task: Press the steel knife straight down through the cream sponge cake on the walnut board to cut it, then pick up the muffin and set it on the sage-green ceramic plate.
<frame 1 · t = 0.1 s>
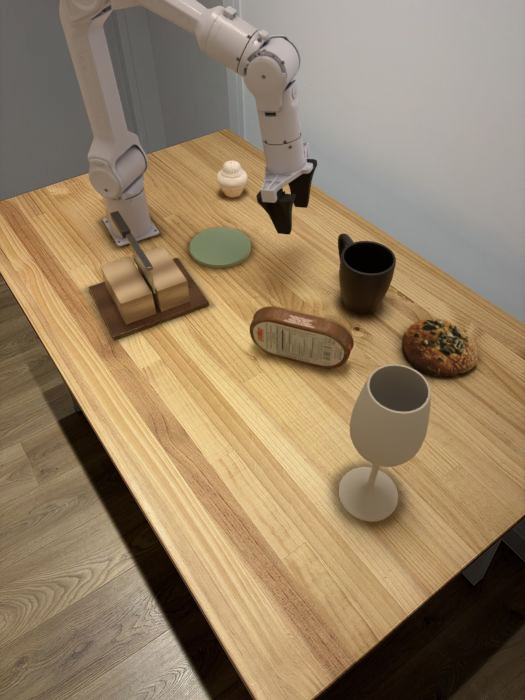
hand: (293, 219, 87), 11 cm above the table, tool pointing down, fingers open, 7 cm apart
mug: (354, 297, 91), on the table
bread roll: (438, 351, 83), on the table
plate: (220, 248, 99), on the table
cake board: (148, 297, 91), on the table
wineglass: (367, 494, 67), on the table
knife: (133, 250, 87), point 8 cm above the table, slide at 0.0 cm
muffin: (232, 194, 112), on the table
tin: (298, 358, 82), on the table
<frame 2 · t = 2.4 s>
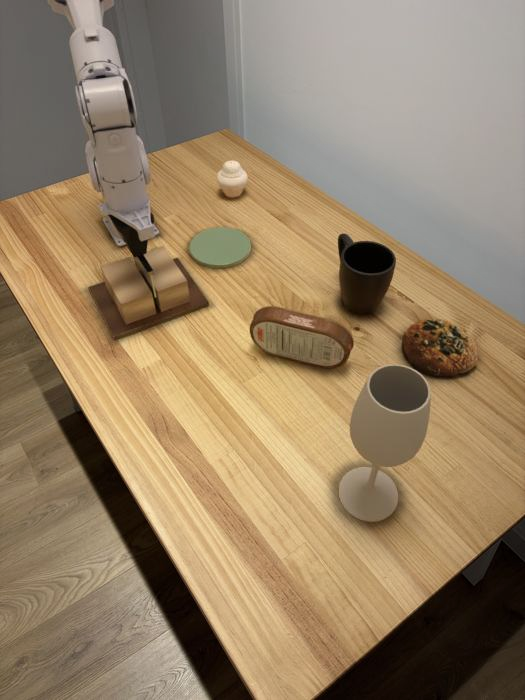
hand: (138, 253, 84), 9 cm above the table, tool pointing down, fingers closed, pressing on knife
knife: (134, 254, 88), point 7 cm above the table, slide at 0.8 cm, touching gripper
everything else where it was.
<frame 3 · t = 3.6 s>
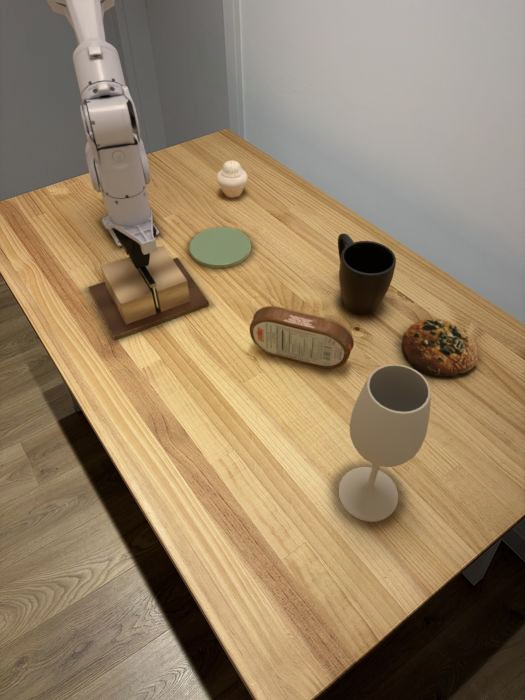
hand: (141, 264, 86), 7 cm above the table, tool pointing down, fingers closed
knife: (137, 266, 90), point 4 cm above the table, slide at 3.2 cm
everything else where it was.
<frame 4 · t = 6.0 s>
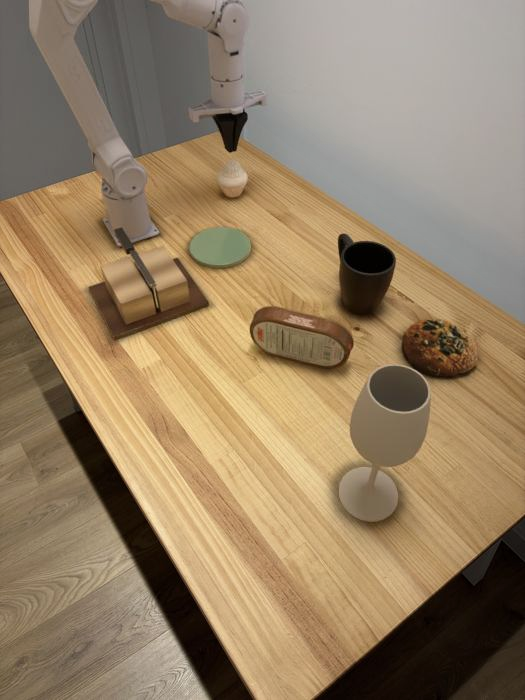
hand: (230, 149, 104), 9 cm above the table, tool pointing down, fingers closed
nothing on the table moved.
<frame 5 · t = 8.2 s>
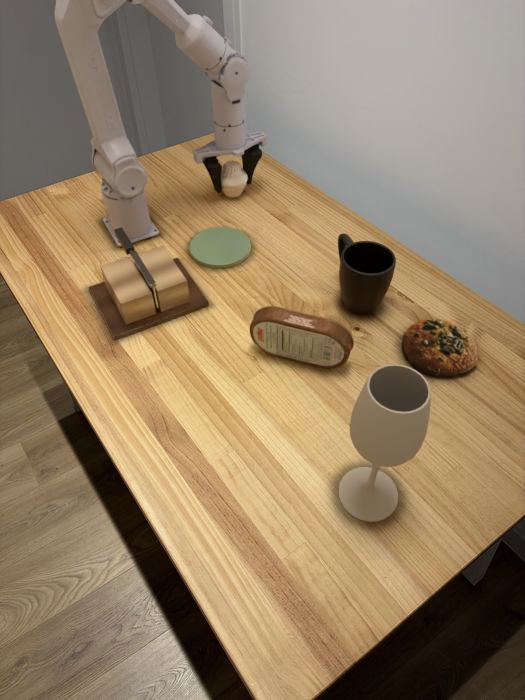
hand: (232, 186, 110), 2 cm above the table, tool pointing down, fingers closed on muffin, 6 cm apart
muffin: (233, 194, 112), on the table, touching gripper
everything else where it was.
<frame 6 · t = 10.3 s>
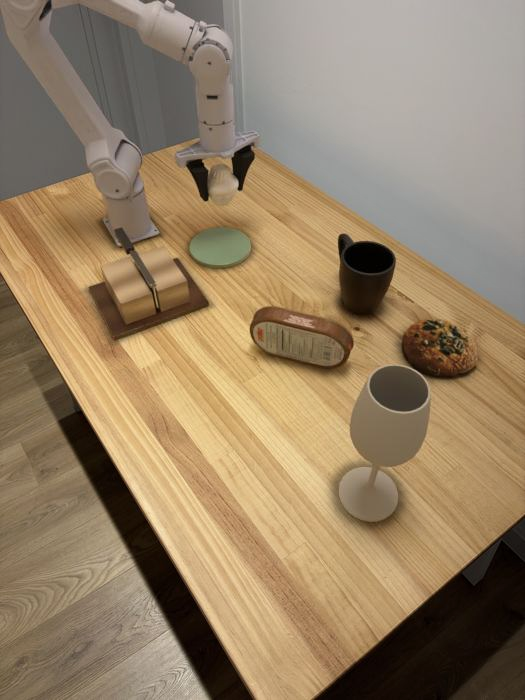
hand: (221, 193, 96), 8 cm above the table, tool pointing down, fingers closed on muffin, 6 cm apart
muffin: (222, 202, 98), point 7 cm above the table, touching gripper
everything else where it was.
when the fingers open (2 cm above the table, at t = 12.8 s): muffin stays where it is, resting on plate.
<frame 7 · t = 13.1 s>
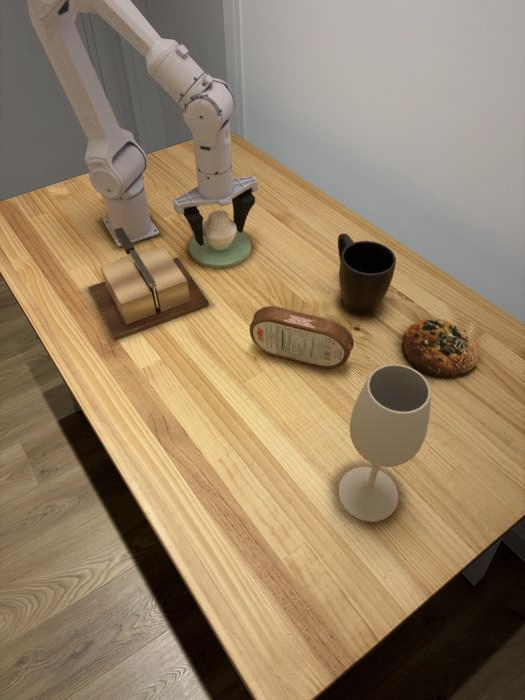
hand: (219, 235, 97), 3 cm above the table, tool pointing down, fingers open, 7 cm apart
muffin: (220, 246, 99), point 1 cm above the table, touching plate
everything else where it was.
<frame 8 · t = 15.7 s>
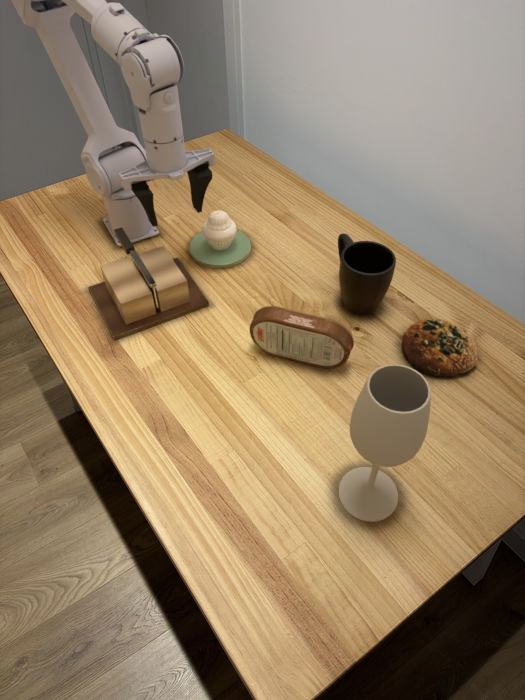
hand: (175, 216, 88), 10 cm above the table, tool pointing down, fingers open, 7 cm apart
nothing on the table moved.
at the end: knife slide at 3.2 cm; muffin 0.0 cm off-centre on the plate, point 0.6 cm above the plate's base; muffin tilted 0° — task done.
